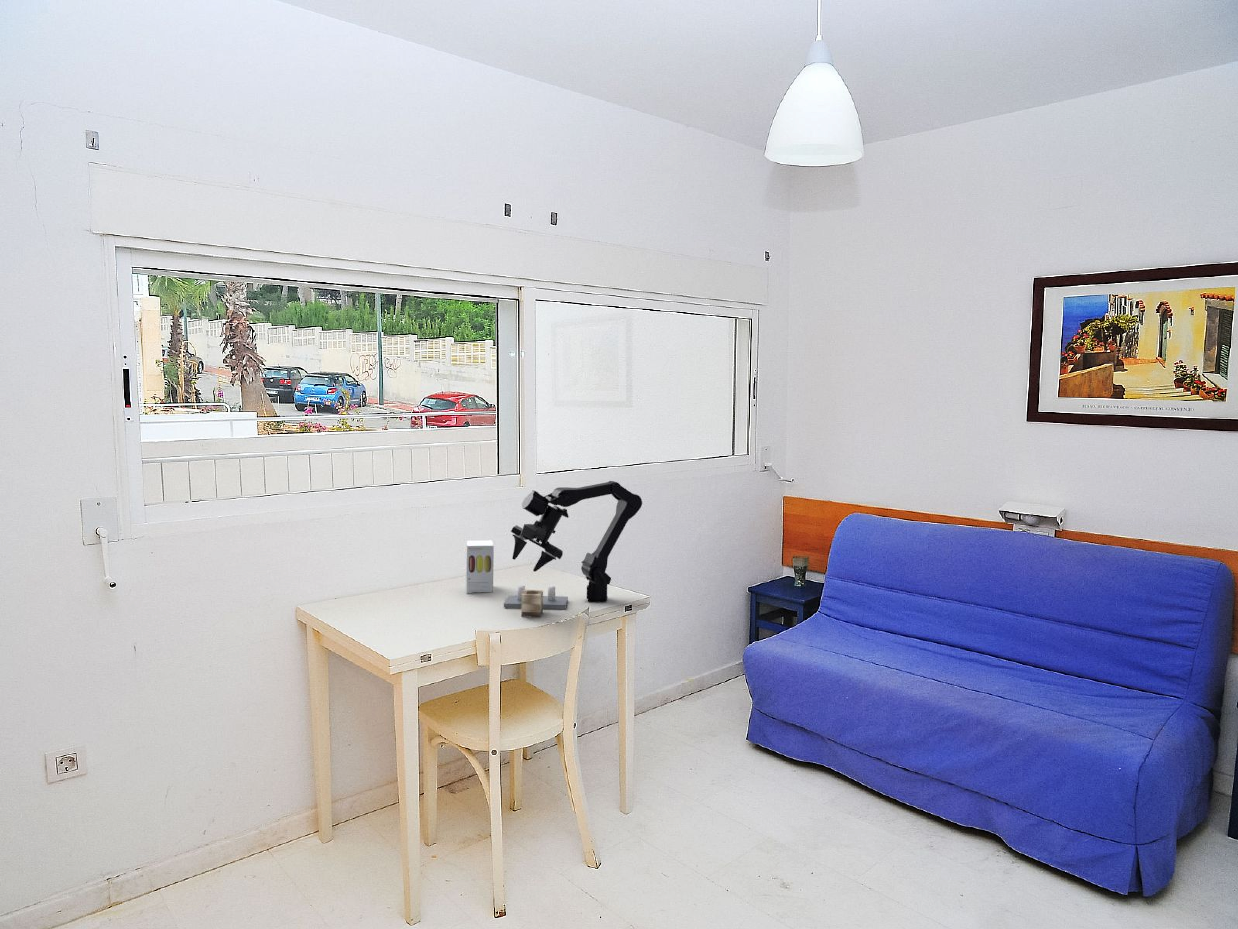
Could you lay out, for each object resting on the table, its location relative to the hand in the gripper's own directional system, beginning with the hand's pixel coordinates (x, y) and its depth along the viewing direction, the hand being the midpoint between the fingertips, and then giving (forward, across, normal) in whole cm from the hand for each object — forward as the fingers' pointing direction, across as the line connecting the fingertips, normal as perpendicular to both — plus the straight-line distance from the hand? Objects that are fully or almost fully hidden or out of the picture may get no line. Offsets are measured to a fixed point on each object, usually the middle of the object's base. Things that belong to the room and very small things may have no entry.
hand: (523, 565), depth 261 cm
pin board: (+9, +4, +12) cm, 16 cm away
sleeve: (+12, +10, +3) cm, 16 cm away
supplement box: (+16, -22, +18) cm, 32 cm away
